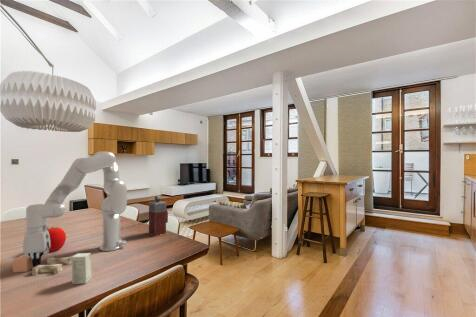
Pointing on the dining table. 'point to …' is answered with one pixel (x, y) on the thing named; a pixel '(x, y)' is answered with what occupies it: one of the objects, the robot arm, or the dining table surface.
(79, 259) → the skincare box
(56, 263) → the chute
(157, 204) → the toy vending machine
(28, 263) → the block
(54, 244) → the tomato
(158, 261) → the dining table surface
